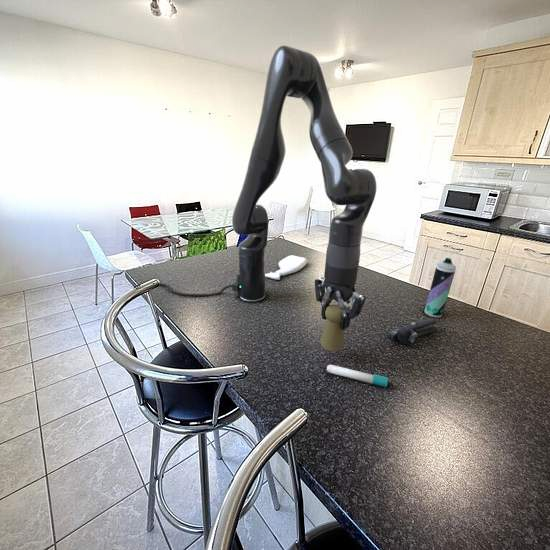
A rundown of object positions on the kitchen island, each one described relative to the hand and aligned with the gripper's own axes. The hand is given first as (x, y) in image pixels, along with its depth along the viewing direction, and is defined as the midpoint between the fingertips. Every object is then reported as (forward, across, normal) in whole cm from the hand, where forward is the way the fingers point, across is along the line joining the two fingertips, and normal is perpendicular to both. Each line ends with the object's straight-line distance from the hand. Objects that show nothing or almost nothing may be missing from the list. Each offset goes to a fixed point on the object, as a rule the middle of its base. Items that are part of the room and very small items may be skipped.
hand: (334, 323), depth 74 cm
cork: (+7, 0, 0) cm, 7 cm away
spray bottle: (+11, -50, +30) cm, 60 cm away
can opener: (+11, +10, +26) cm, 30 cm away
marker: (+10, +9, -2) cm, 14 cm away
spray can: (+11, +8, +45) cm, 47 cm away
